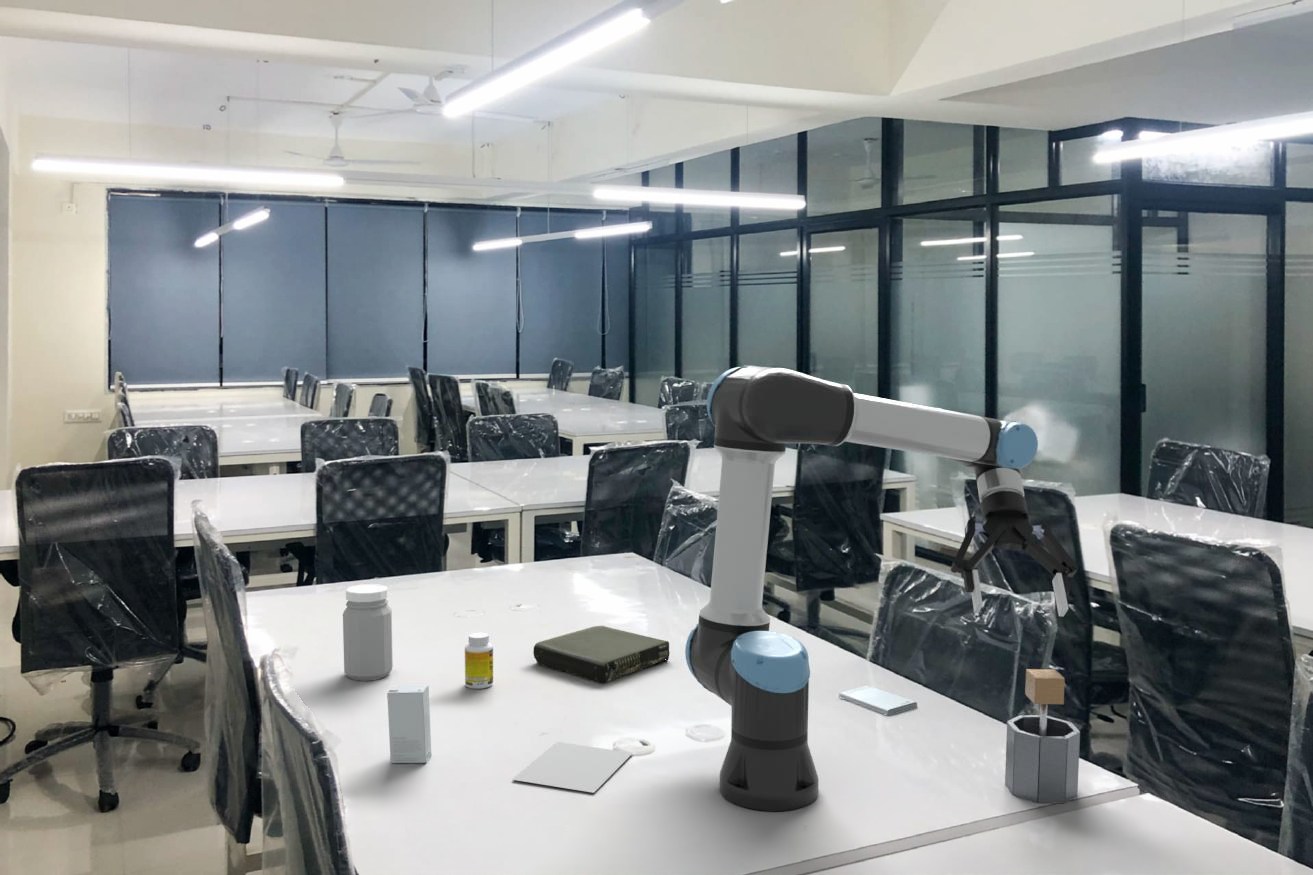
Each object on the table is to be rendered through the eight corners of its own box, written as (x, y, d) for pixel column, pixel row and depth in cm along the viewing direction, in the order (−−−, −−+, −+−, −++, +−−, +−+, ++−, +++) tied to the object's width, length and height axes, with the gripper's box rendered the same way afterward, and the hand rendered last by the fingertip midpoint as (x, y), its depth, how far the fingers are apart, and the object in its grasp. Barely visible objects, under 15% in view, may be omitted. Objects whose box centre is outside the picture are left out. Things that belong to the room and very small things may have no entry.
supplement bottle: (494, 688, 213) (493, 638, 212) (465, 690, 212) (465, 639, 211) (492, 679, 218) (491, 630, 217) (464, 681, 217) (463, 632, 216)
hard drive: (917, 701, 203) (868, 683, 213) (887, 710, 198) (838, 691, 208) (917, 709, 203) (868, 692, 213) (887, 718, 199) (838, 700, 209)
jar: (333, 676, 220) (331, 589, 219) (371, 664, 228) (369, 580, 227) (365, 684, 215) (363, 596, 213) (403, 672, 223) (401, 586, 221)
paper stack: (458, 775, 172) (458, 770, 172) (528, 722, 195) (528, 718, 195) (593, 796, 164) (593, 792, 164) (650, 739, 187) (650, 735, 187)
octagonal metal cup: (1018, 802, 162) (1020, 737, 161) (999, 775, 171) (1001, 714, 170) (1084, 803, 161) (1087, 738, 160) (1061, 776, 171) (1064, 715, 170)
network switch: (614, 689, 214) (614, 664, 214) (523, 669, 227) (522, 645, 226) (676, 660, 234) (676, 637, 233) (589, 643, 246) (589, 621, 246)
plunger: (1026, 785, 163) (1030, 680, 161) (1013, 768, 170) (1016, 666, 168) (1070, 786, 163) (1074, 680, 161) (1055, 769, 169) (1059, 667, 168)
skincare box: (432, 754, 179) (430, 683, 178) (426, 764, 175) (424, 692, 174) (395, 753, 180) (393, 683, 178) (388, 764, 175) (386, 691, 174)
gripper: (1068, 515, 189) (1091, 624, 177) (925, 509, 190) (938, 618, 177) (1082, 491, 183) (1106, 602, 170) (933, 485, 184) (947, 596, 171)
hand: (1021, 610), depth 174 cm, fingers open, 13 cm apart
